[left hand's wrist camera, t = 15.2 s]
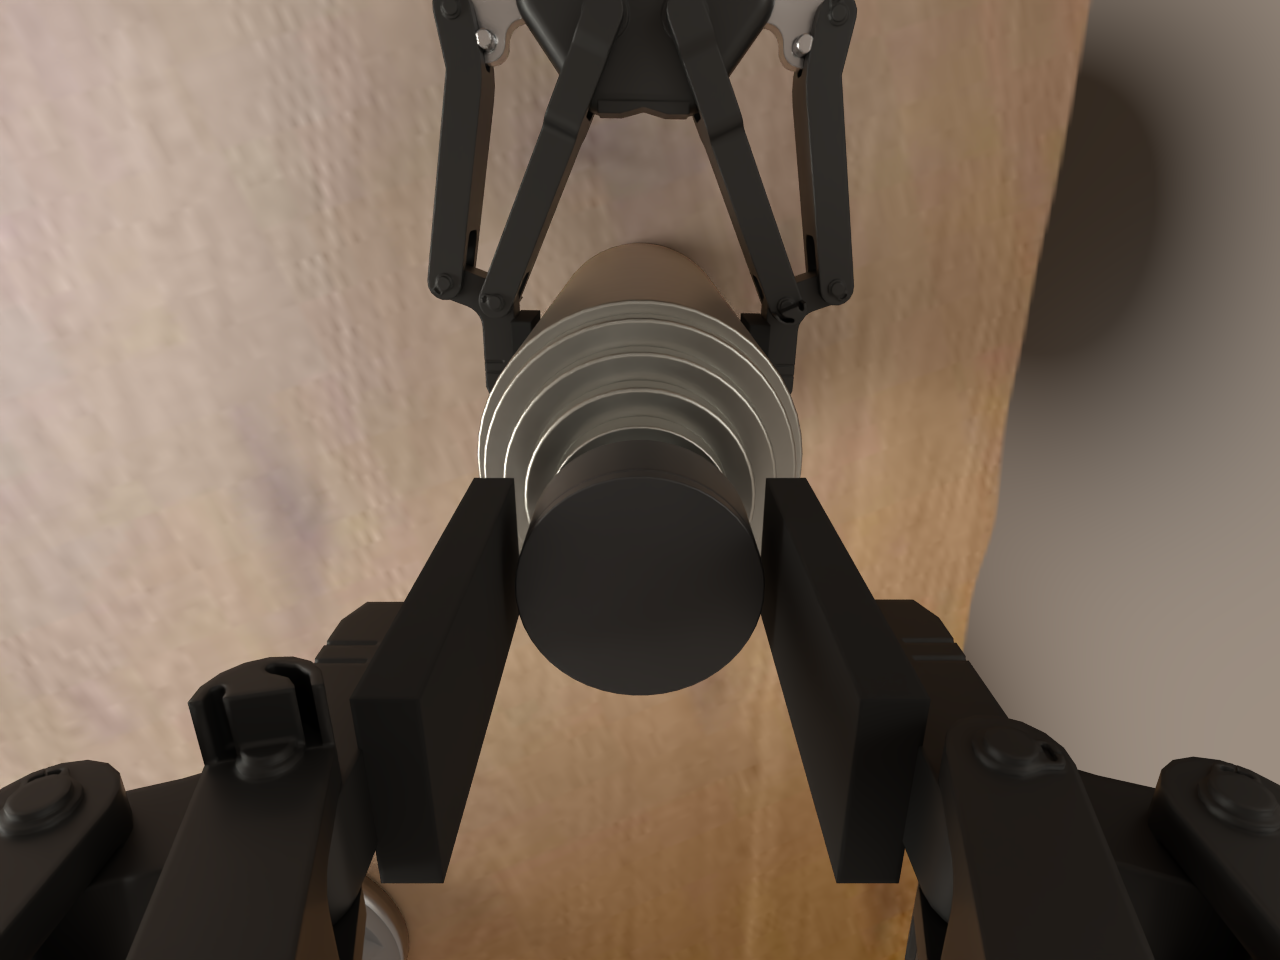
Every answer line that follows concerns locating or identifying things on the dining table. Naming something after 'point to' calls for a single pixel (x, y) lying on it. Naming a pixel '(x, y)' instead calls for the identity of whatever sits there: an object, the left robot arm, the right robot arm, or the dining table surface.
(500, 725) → the dining table surface
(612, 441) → the bottle
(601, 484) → the cap
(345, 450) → the dining table surface
